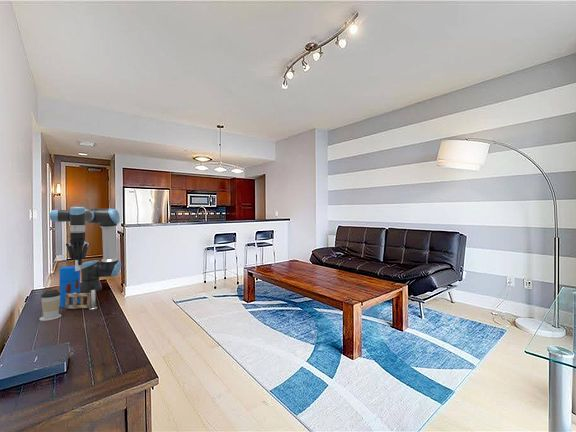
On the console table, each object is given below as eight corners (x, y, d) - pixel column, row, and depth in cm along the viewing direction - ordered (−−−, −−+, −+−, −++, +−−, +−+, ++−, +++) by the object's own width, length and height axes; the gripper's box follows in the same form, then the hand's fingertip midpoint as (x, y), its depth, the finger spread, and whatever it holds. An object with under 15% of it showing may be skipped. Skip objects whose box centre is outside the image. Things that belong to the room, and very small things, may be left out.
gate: (90, 306, 184) (90, 293, 184) (89, 307, 183) (89, 293, 183) (66, 308, 181) (66, 293, 181) (65, 308, 180) (65, 294, 180)
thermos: (83, 302, 195) (83, 266, 195) (70, 307, 185) (70, 269, 184) (69, 301, 197) (69, 265, 196) (55, 307, 186) (55, 268, 185)
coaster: (48, 314, 173) (48, 313, 173) (65, 314, 173) (65, 313, 173) (34, 320, 163) (34, 320, 163) (52, 320, 163) (52, 320, 163)
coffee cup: (49, 320, 163) (49, 293, 163) (36, 318, 165) (36, 292, 164) (64, 314, 172) (64, 289, 171) (52, 313, 173) (52, 288, 173)
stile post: (73, 307, 186) (73, 291, 186) (80, 307, 186) (80, 291, 186) (69, 309, 182) (69, 293, 182) (76, 309, 182) (75, 293, 182)
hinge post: (91, 307, 186) (91, 289, 185) (98, 307, 186) (98, 289, 186) (87, 309, 181) (87, 291, 181) (94, 309, 181) (94, 291, 181)
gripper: (62, 232, 171) (62, 271, 171) (84, 232, 171) (84, 271, 172) (71, 231, 178) (71, 269, 179) (92, 231, 179) (92, 269, 179)
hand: (77, 270), depth 175 cm, fingers closed
